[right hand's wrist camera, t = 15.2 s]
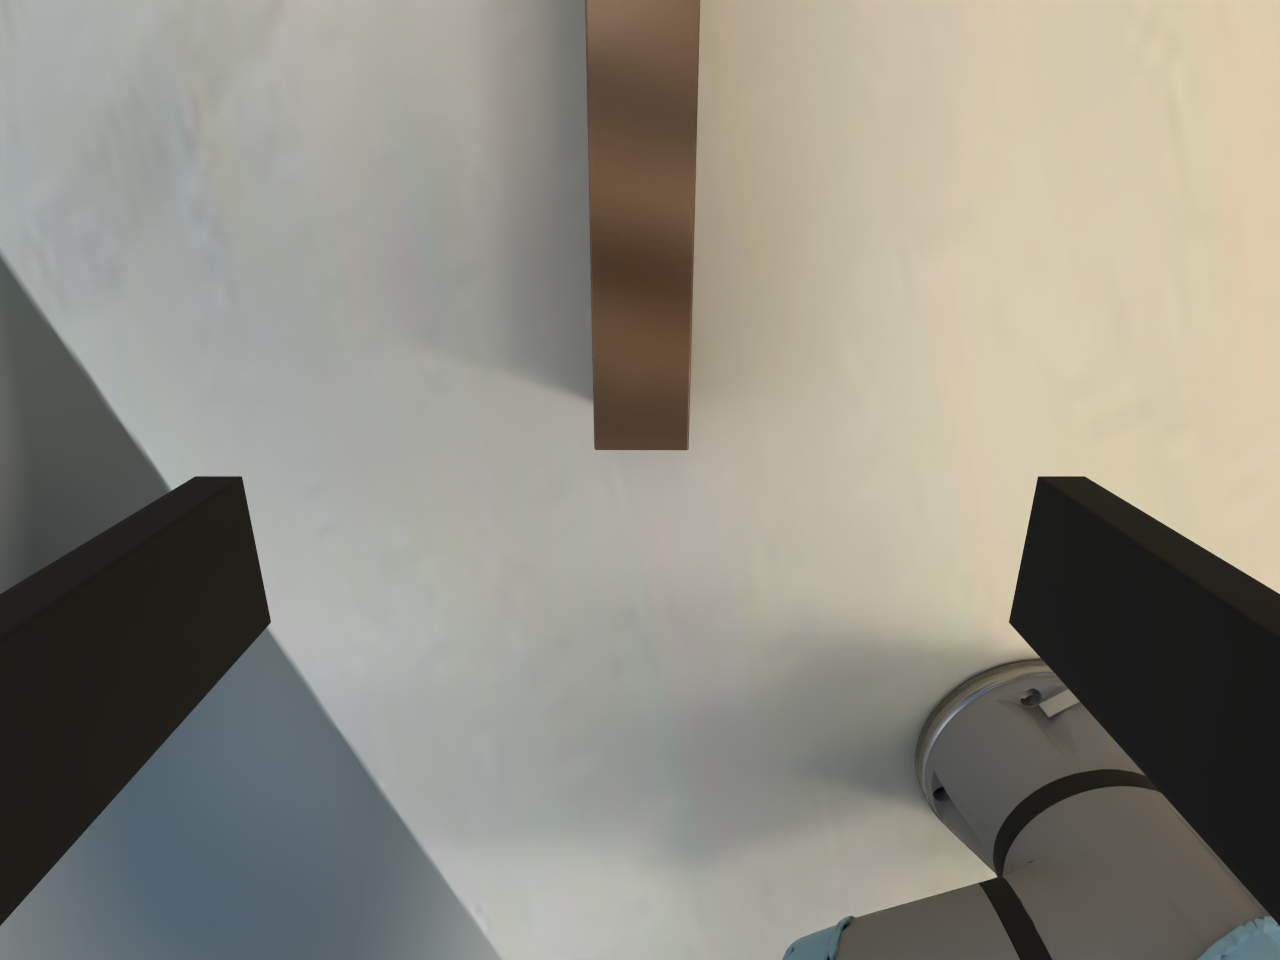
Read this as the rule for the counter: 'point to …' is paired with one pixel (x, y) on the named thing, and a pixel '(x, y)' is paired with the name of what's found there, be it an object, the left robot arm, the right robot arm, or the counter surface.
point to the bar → (642, 217)
